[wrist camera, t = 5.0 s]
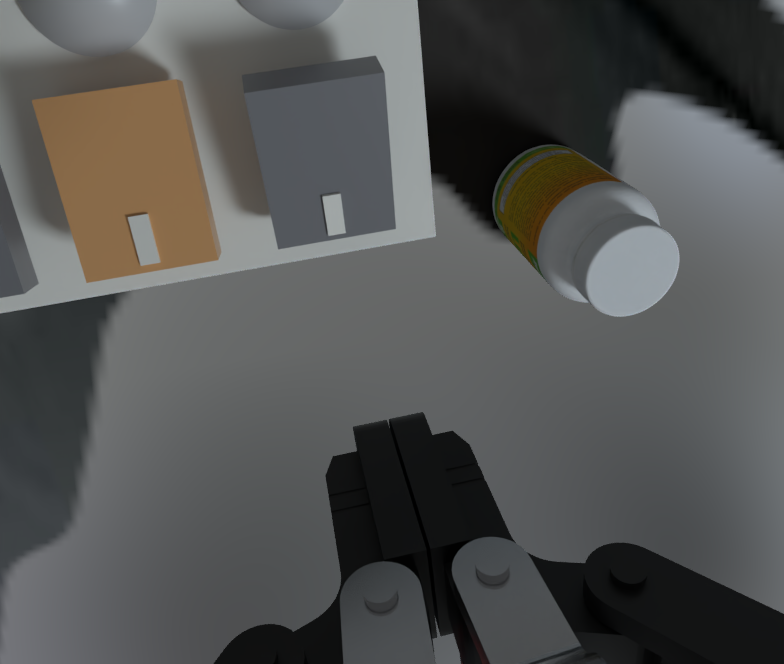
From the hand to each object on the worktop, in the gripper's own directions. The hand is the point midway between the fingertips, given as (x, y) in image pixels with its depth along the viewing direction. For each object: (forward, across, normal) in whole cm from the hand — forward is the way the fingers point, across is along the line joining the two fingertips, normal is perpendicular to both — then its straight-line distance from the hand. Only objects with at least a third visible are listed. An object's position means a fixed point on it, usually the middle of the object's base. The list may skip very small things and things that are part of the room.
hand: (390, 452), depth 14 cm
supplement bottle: (+21, -12, +3) cm, 24 cm away
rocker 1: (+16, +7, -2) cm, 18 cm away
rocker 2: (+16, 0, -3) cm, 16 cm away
